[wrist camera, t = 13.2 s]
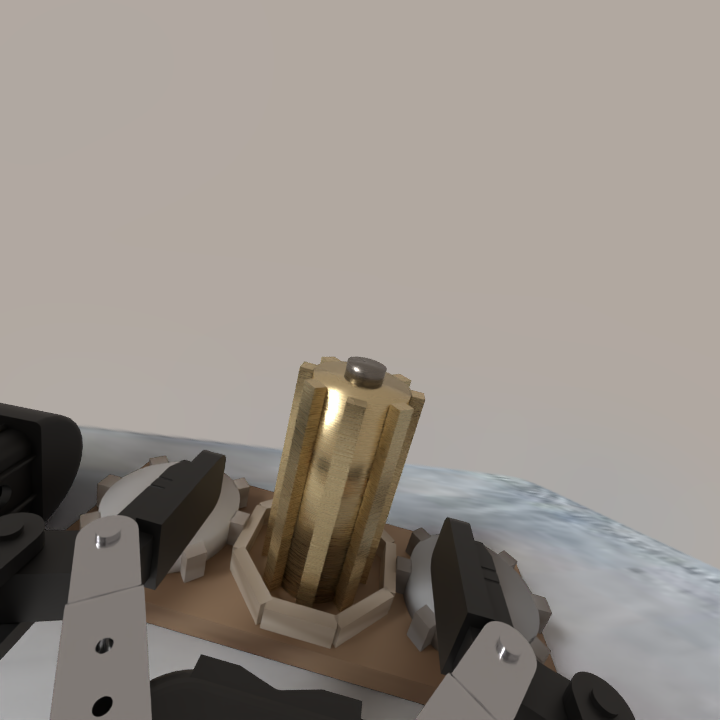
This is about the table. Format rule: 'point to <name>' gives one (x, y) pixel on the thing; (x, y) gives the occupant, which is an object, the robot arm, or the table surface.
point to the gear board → (323, 621)
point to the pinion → (337, 478)
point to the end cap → (36, 460)
